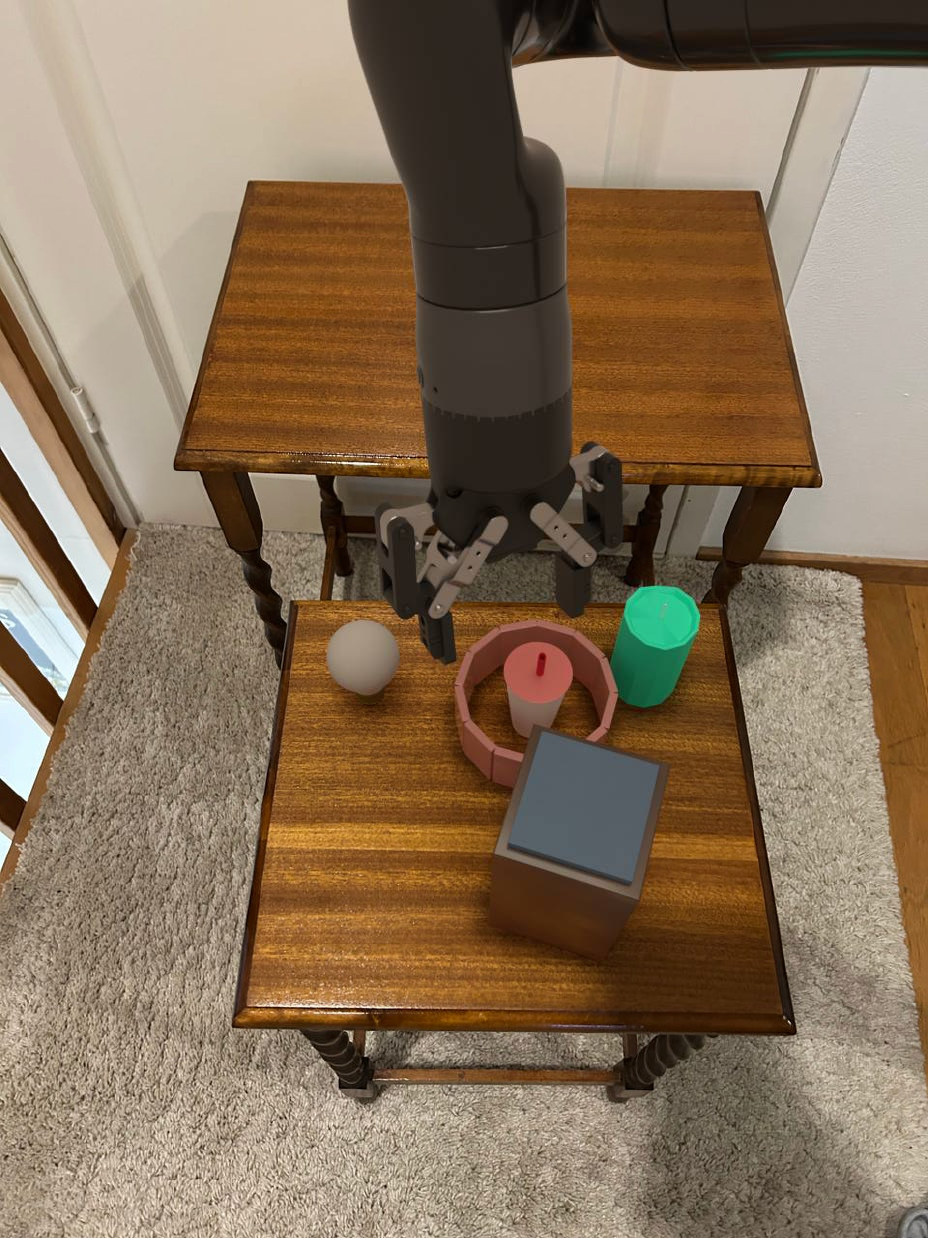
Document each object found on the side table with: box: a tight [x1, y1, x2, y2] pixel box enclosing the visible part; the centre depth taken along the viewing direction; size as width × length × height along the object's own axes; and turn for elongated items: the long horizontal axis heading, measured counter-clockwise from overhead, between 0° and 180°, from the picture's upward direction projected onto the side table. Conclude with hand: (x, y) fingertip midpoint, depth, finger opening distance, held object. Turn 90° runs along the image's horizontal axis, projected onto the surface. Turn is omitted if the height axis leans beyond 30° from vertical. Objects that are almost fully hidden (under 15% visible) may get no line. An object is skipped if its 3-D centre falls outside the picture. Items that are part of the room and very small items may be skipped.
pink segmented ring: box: [453, 618, 619, 789], centre depth 78 cm, size 13×13×6 cm
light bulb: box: [326, 619, 401, 705], centre depth 77 cm, size 6×6×10 cm
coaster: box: [507, 731, 660, 885], centre depth 57 cm, size 8×8×1 cm
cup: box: [503, 642, 574, 739], centre depth 75 cm, size 5×5×12 cm
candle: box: [609, 585, 701, 709], centre depth 77 cm, size 6×6×12 cm
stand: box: [487, 724, 671, 963], centre depth 65 cm, size 9×9×18 cm
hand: (508, 632), depth 56 cm, fingers open, 8 cm apart
